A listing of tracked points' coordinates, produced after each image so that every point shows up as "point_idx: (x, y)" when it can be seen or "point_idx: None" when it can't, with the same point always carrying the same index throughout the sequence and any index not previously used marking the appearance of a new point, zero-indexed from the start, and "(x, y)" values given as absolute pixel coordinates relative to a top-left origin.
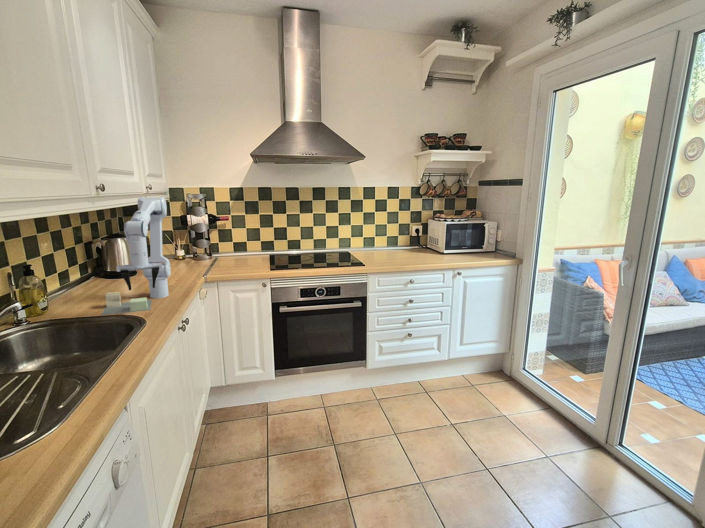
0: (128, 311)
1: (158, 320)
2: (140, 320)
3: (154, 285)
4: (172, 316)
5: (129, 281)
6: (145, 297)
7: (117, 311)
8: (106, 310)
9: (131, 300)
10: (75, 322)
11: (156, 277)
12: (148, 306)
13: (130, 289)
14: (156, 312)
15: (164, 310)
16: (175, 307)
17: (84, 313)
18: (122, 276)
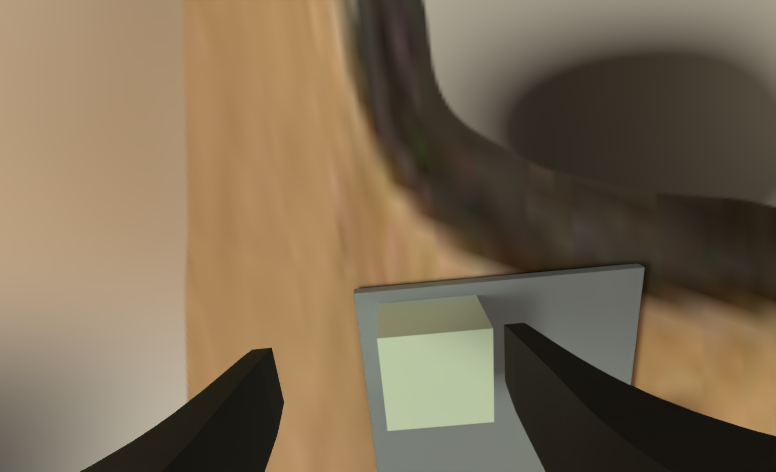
0: (488, 299)
1: (270, 63)
2: (394, 111)
3: (236, 363)
4: (187, 128)
5: (562, 391)
6: (395, 429)
7: (553, 320)
8: (616, 361)
9: (485, 384)
10: (772, 215)
11: (125, 446)
12: (378, 366)
13: (513, 326)
14: (316, 259)
15: (272, 286)
16: (212, 327)
17: (721, 373)
18: (762, 435)
